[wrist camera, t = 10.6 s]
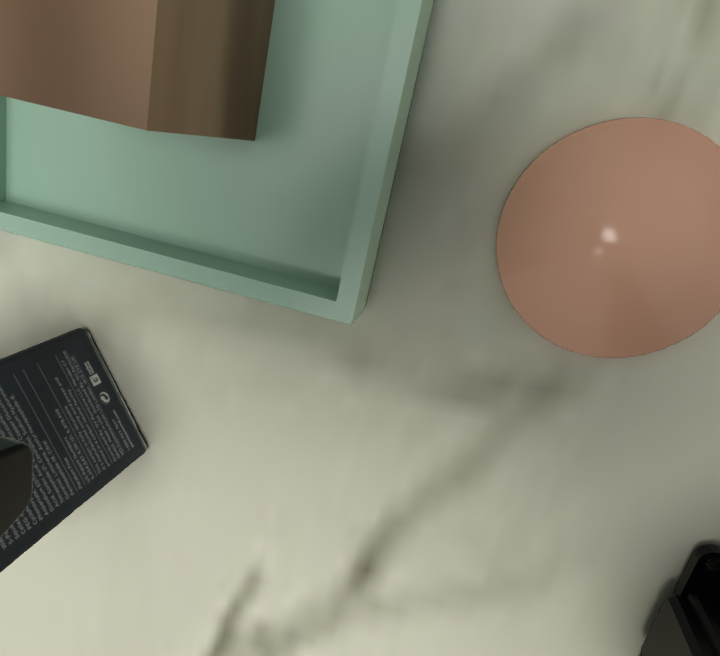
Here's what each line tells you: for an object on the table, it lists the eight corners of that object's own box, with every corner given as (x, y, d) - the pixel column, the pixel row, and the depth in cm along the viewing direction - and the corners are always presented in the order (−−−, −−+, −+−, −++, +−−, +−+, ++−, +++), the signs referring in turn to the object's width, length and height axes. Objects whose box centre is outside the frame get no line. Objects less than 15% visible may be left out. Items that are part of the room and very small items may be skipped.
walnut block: (281, -41, 16) (170, -153, 10) (254, 141, 17) (146, 130, 12) (123, -71, 16) (-64, -192, 11) (111, 107, 18) (-56, 81, 12)
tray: (478, -199, 14) (478, -257, 12) (364, 307, 19) (351, 325, 17) (5, -264, 16) (-60, -324, 14) (5, 212, 21) (-46, 217, 19)
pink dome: (783, 144, 15) (799, 143, 15) (690, 372, 18) (700, 381, 17) (530, 100, 16) (532, 97, 16) (472, 322, 19) (472, 328, 18)
